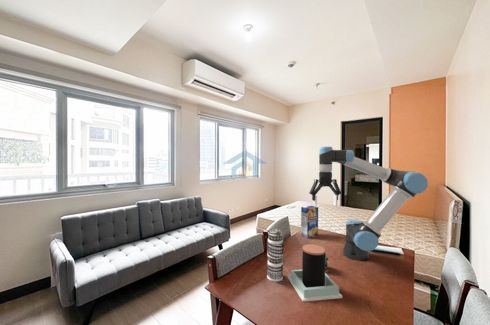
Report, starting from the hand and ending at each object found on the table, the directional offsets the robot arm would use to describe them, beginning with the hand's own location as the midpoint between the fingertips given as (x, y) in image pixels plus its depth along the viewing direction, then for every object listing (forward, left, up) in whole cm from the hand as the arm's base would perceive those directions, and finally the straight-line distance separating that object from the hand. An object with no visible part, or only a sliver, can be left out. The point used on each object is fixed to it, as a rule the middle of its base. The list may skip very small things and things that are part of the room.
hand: (325, 205), depth 128 cm
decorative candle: (+36, +13, -35) cm, 52 cm away
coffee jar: (+20, +24, -34) cm, 46 cm away
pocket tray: (+20, +24, -35) cm, 47 cm away
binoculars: (+8, +8, -35) cm, 37 cm away
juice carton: (-11, -43, -35) cm, 56 cm away
